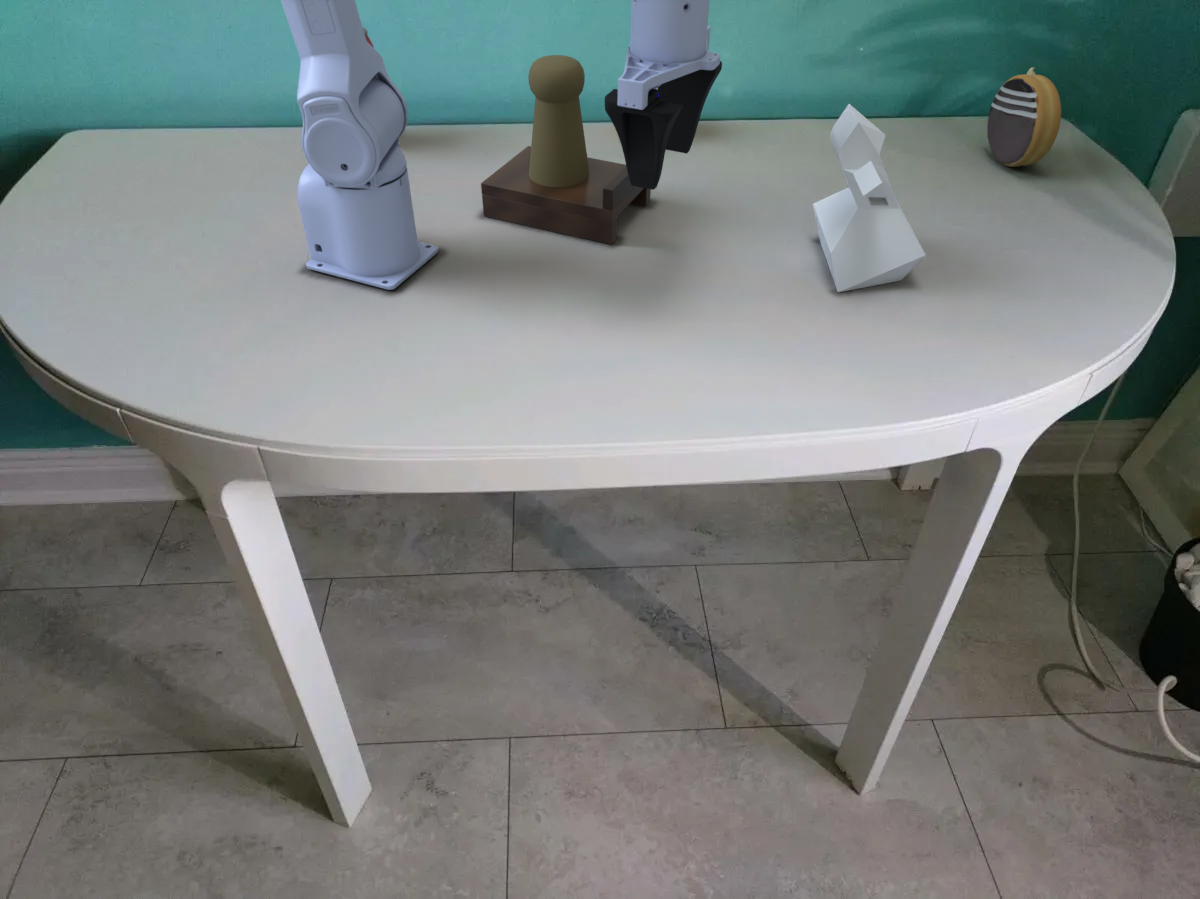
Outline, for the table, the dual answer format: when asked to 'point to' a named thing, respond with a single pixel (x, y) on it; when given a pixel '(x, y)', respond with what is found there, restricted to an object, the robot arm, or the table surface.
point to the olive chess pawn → (557, 123)
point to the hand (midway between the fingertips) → (661, 167)
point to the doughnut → (1024, 119)
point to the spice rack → (562, 199)
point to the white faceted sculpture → (864, 213)
